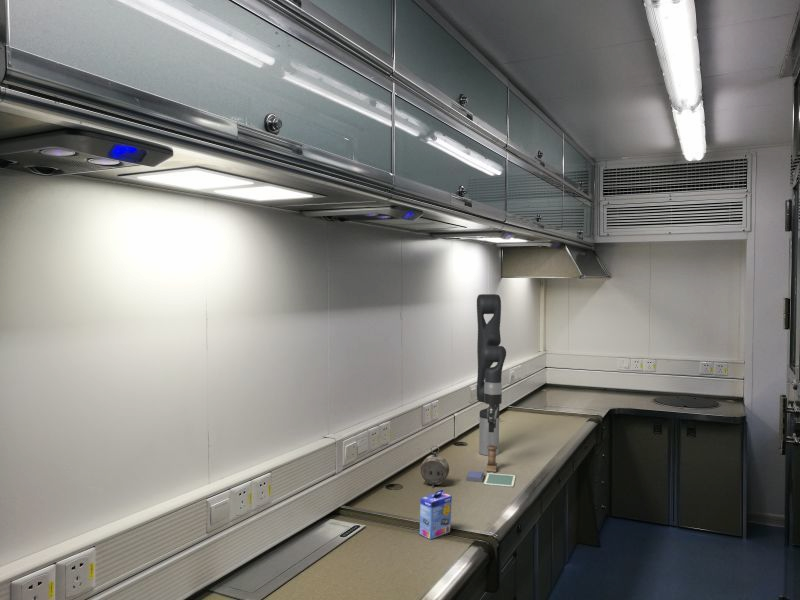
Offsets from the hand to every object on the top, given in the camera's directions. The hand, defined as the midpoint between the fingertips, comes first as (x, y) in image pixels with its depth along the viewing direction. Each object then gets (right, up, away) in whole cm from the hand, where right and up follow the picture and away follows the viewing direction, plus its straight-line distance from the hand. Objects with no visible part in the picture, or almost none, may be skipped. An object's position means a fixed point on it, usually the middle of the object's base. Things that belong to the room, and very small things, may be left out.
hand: (492, 429), depth 271 cm
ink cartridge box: (-28, -20, -68) cm, 76 cm away
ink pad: (-8, -18, -10) cm, 22 cm away
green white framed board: (+1, -18, -13) cm, 22 cm away
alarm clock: (-26, -18, -21) cm, 38 cm away
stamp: (0, -18, +1) cm, 18 cm away
